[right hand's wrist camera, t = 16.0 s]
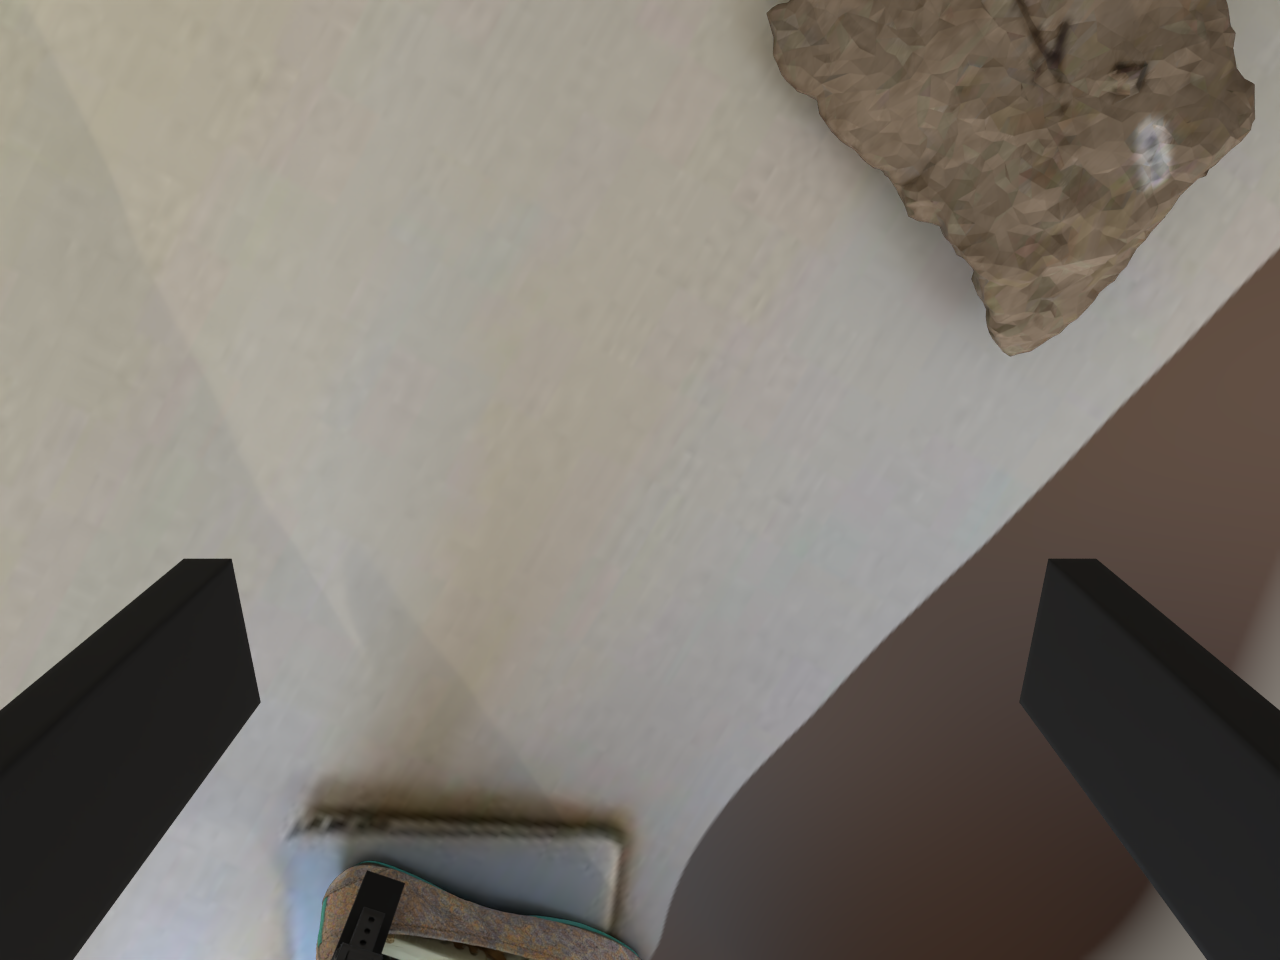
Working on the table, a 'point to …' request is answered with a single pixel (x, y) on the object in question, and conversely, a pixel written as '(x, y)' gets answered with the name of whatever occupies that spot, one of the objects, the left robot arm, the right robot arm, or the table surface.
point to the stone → (1026, 128)
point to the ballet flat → (460, 926)
